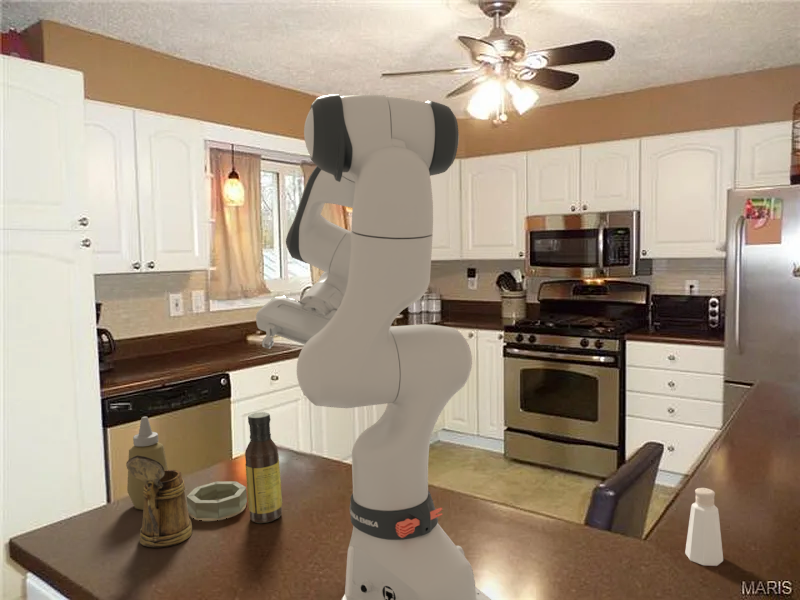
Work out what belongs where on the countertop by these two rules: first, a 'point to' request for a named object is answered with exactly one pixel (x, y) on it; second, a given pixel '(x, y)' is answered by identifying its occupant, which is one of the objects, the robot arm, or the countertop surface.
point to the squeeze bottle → (146, 447)
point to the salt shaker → (704, 530)
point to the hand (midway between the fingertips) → (287, 353)
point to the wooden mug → (161, 504)
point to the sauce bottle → (262, 471)
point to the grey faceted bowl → (217, 501)
